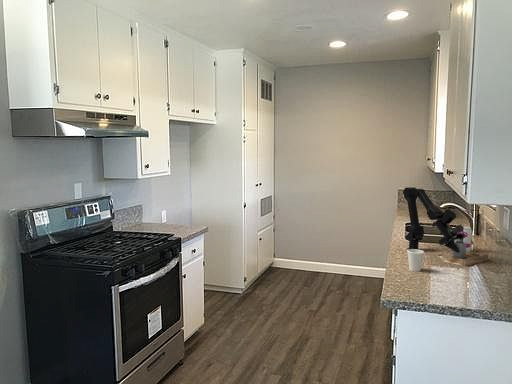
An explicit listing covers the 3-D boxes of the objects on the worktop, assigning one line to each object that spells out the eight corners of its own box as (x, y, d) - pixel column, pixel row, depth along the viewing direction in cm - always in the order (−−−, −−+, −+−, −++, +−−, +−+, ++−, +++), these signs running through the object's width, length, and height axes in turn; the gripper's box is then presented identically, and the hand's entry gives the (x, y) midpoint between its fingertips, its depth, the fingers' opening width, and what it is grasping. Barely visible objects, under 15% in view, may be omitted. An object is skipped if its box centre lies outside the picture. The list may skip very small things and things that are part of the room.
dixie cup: (403, 268, 226) (403, 249, 225) (415, 266, 229) (416, 248, 228) (414, 272, 218) (414, 253, 217) (427, 271, 221) (427, 252, 220)
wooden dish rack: (440, 261, 239) (441, 253, 239) (464, 255, 253) (464, 248, 252) (464, 267, 228) (465, 259, 227) (488, 261, 241) (488, 253, 241)
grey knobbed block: (452, 261, 238) (453, 239, 236) (457, 260, 240) (458, 238, 239) (460, 263, 234) (461, 240, 233) (465, 261, 236) (466, 239, 235)
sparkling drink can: (466, 253, 259) (468, 228, 258) (453, 250, 266) (454, 226, 264) (472, 251, 265) (474, 227, 263) (459, 248, 271) (460, 225, 269)
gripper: (444, 221, 233) (463, 245, 225) (463, 218, 243) (481, 241, 235) (431, 233, 240) (448, 257, 232) (449, 230, 250) (467, 252, 243)
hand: (461, 251), depth 235 cm, fingers open, 6 cm apart
